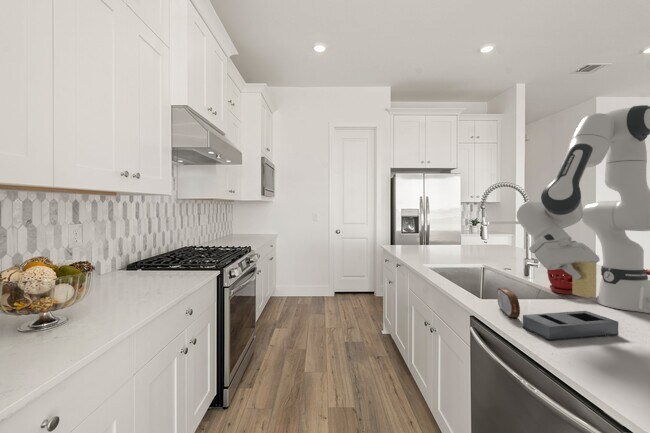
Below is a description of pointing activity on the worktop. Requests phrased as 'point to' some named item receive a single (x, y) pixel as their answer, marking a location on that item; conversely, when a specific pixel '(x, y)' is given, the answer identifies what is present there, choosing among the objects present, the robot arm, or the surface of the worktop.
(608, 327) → the block
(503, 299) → the tin
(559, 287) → the plant pot
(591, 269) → the tan rectangular block
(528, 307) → the worktop surface
